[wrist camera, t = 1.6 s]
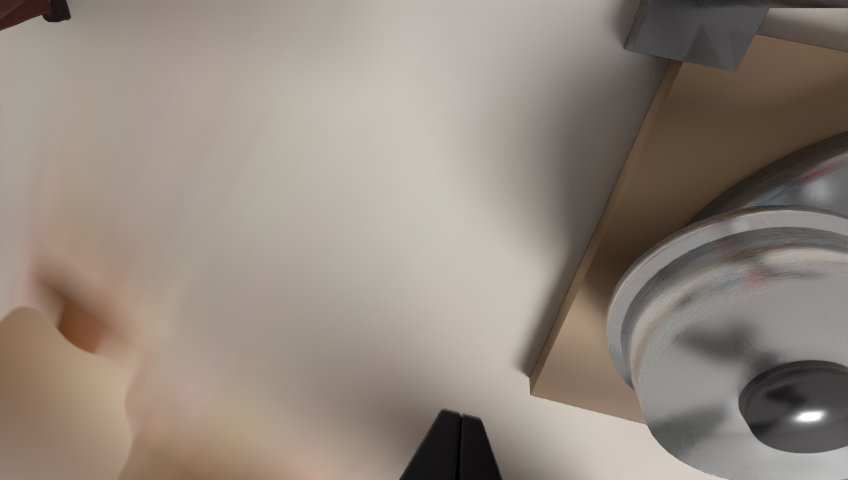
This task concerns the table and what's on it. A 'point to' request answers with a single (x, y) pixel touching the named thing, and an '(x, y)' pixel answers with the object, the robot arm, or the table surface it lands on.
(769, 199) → the turntable
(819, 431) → the cover
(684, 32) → the stand
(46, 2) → the mate gourd
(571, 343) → the plinth
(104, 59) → the table surface
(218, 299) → the table surface
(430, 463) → the robot arm
